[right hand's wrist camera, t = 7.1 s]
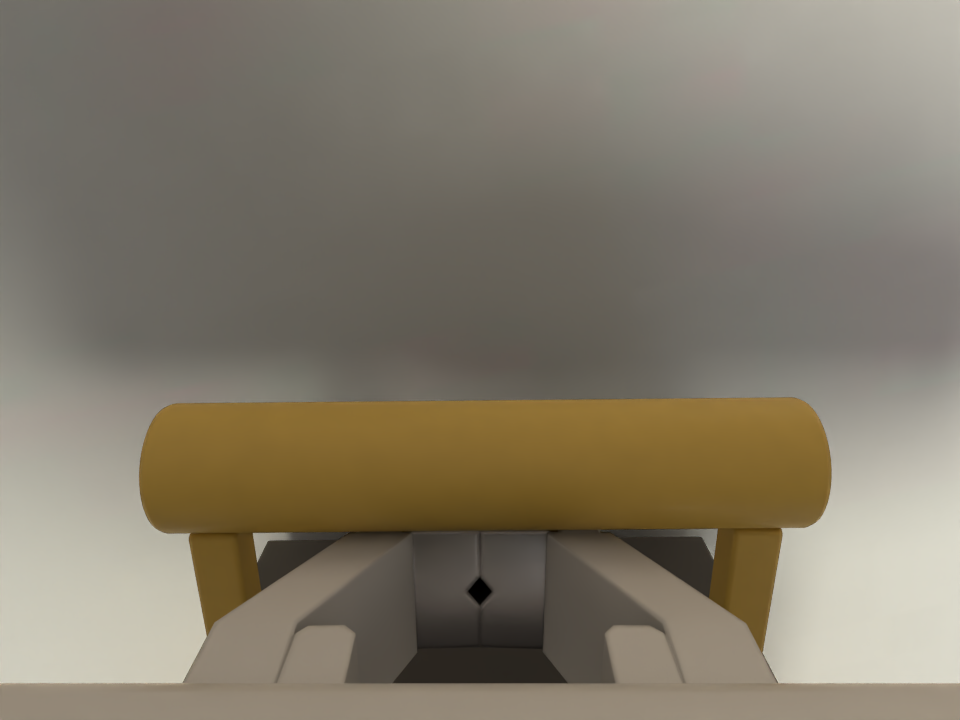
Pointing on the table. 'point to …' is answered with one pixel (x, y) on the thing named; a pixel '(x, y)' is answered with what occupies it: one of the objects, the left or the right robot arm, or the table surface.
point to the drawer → (488, 490)
